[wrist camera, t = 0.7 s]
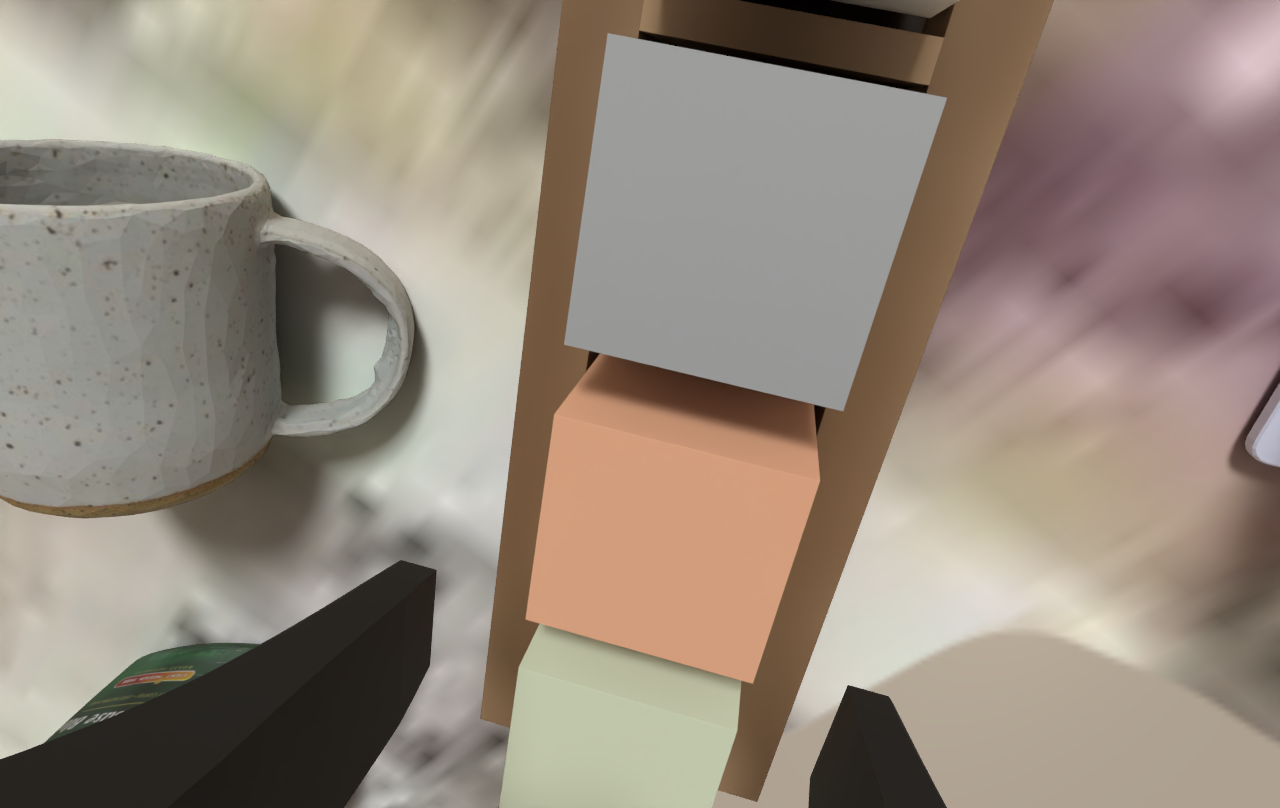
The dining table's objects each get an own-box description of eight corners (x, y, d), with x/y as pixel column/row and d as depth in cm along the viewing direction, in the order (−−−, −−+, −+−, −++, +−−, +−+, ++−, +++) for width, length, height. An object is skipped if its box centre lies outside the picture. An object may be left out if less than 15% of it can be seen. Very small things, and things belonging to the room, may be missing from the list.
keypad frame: (1136, -355, 13) (1231, -480, 10) (760, 722, 24) (757, 801, 21) (657, -413, 13) (624, -544, 11) (514, 651, 25) (480, 718, 22)
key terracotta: (813, 397, 16) (820, 480, 13) (759, 569, 18) (753, 683, 15) (604, 347, 17) (554, 414, 13) (575, 520, 19) (525, 619, 15)
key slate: (905, 99, 14) (947, 98, 10) (830, 340, 16) (843, 411, 12) (654, 50, 14) (607, 33, 11) (614, 291, 16) (564, 344, 13)
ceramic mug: (131, 391, 24) (-137, 512, 17) (81, 131, 20) (-281, 147, 13) (431, 450, 22) (278, 607, 16) (431, 184, 19) (234, 233, 12)
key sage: (747, 611, 19) (737, 730, 15) (707, 740, 21) (689, 873, 17) (568, 562, 19) (519, 667, 16) (547, 694, 22) (497, 812, 18)
